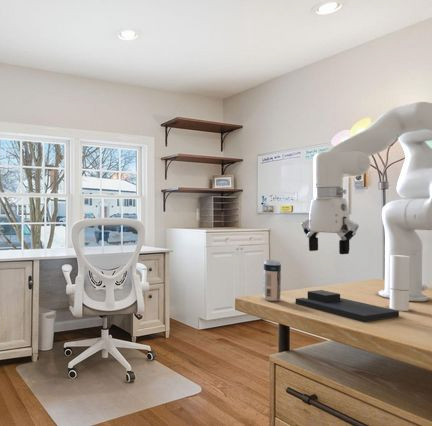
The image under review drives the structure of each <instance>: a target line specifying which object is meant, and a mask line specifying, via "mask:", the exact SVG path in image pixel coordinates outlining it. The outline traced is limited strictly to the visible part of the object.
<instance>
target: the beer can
mask: <svg viewBox="0 0 432 426" xmlns="http://www.w3.org/2000/svg"><path fill="white" fill-rule="evenodd" d="M281 279H282V264H281V261H280V260H277V259H276V260H275V259H266V260H264V263H263V291H262V293H263V295H262V297H263V299H264V300H266V301H268V302H278V301H280V300H281V288H282V287H281V284H282V283H281Z"/></svg>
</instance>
